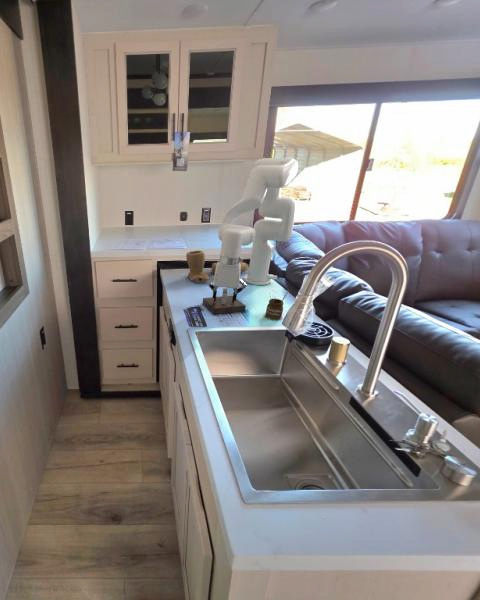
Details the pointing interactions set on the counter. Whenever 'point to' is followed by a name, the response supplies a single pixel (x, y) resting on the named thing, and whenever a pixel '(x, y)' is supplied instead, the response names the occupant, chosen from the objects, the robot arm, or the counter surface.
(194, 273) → the tan fabric boot shape
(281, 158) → the robot arm
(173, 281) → the counter surface
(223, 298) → the nozzle knob
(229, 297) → the brown flat wooden block
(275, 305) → the utensil holder
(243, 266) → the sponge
